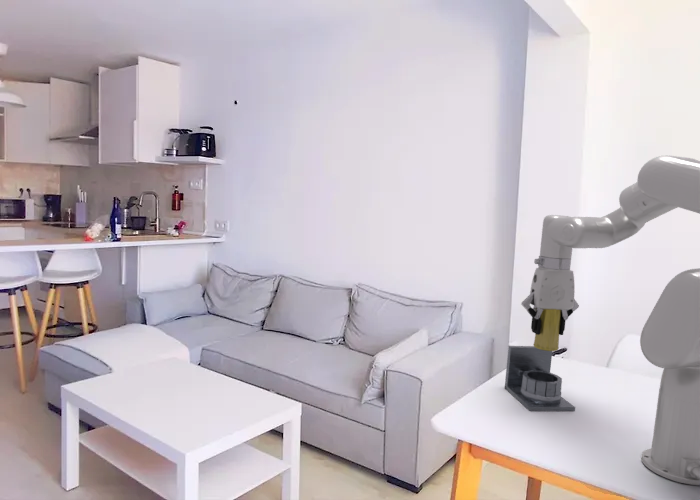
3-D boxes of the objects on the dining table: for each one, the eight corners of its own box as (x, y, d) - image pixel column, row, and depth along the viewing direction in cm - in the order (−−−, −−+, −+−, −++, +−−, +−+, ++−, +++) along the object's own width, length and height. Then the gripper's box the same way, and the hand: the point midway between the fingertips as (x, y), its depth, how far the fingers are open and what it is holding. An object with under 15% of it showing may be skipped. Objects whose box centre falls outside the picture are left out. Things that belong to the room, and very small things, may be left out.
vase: (560, 352, 134) (566, 297, 132) (534, 349, 135) (540, 294, 134) (556, 345, 140) (561, 292, 138) (531, 343, 141) (537, 290, 139)
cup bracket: (574, 411, 134) (579, 365, 132) (529, 411, 132) (534, 364, 131) (545, 388, 149) (549, 346, 147) (504, 387, 147) (508, 345, 145)
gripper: (529, 265, 130) (522, 337, 132) (594, 267, 132) (586, 338, 135) (515, 260, 137) (509, 328, 140) (578, 263, 140) (570, 330, 142)
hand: (547, 332), depth 137 cm, fingers closed on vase, 5 cm apart
